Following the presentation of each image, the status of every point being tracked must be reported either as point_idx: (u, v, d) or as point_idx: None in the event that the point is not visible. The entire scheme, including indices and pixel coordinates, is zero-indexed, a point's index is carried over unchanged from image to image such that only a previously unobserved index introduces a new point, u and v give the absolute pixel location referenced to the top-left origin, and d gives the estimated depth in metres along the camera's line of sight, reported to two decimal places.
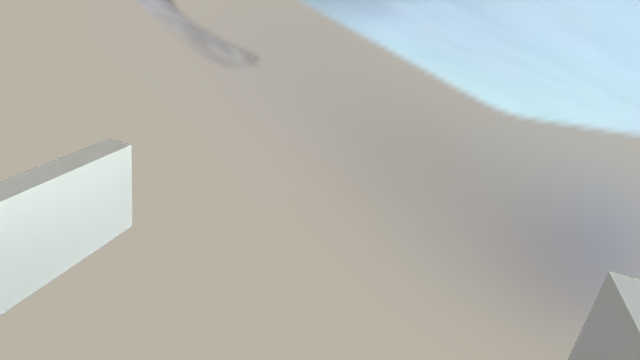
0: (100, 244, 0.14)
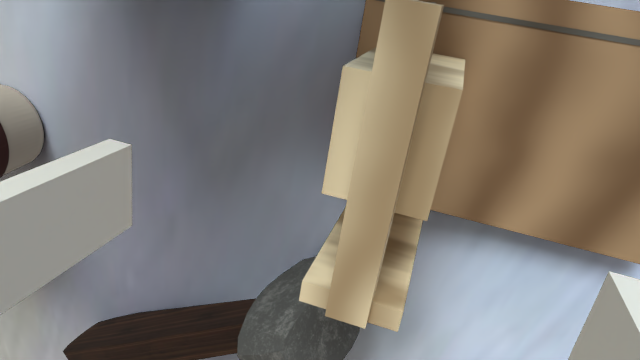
0: (100, 244, 0.14)
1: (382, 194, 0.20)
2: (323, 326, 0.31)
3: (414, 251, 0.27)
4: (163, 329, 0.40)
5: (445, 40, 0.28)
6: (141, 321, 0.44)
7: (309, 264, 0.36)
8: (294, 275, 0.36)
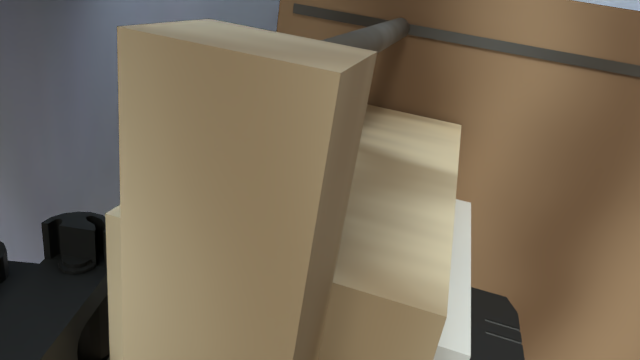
0: None
1: None
2: None
3: None
4: None
5: (424, 89, 0.15)
6: None
7: None
8: None
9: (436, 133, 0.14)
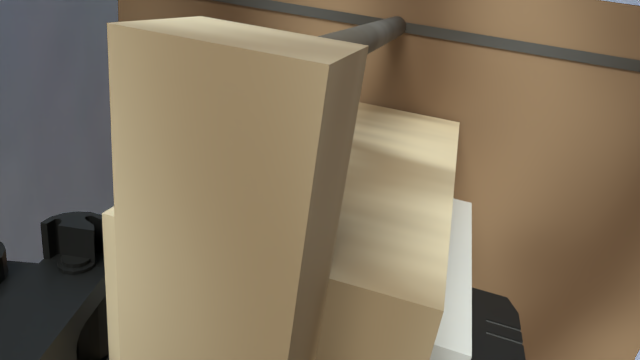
0: None
1: None
2: None
3: None
4: None
5: None
6: None
7: None
8: None
9: (434, 131, 0.14)
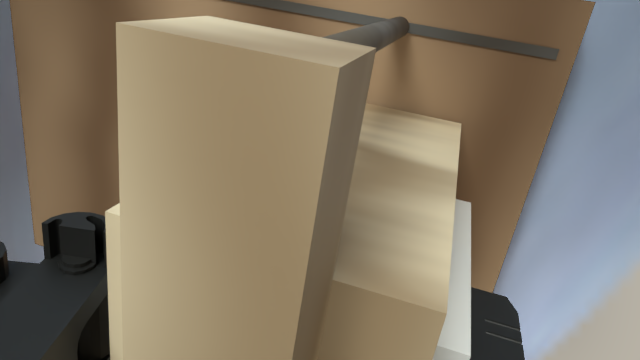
0: None
1: None
2: None
3: None
4: None
5: None
6: None
7: None
8: None
9: (436, 132, 0.14)
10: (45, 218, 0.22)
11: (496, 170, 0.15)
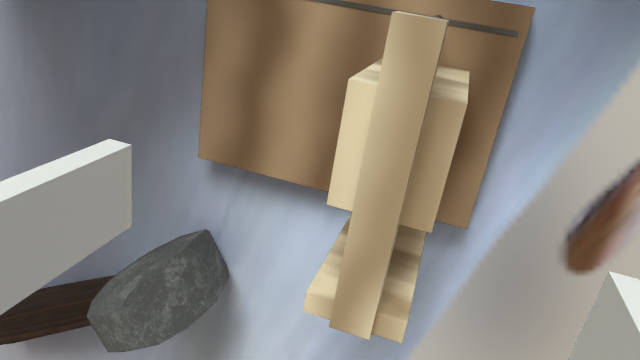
0: (100, 244, 0.14)
1: (387, 206, 0.20)
2: (170, 292, 0.34)
3: (418, 262, 0.27)
4: (51, 300, 0.42)
5: (278, 20, 0.31)
6: (40, 295, 0.46)
7: (179, 239, 0.39)
8: (162, 248, 0.38)
9: (457, 73, 0.27)
10: (208, 139, 0.35)
11: (487, 97, 0.29)
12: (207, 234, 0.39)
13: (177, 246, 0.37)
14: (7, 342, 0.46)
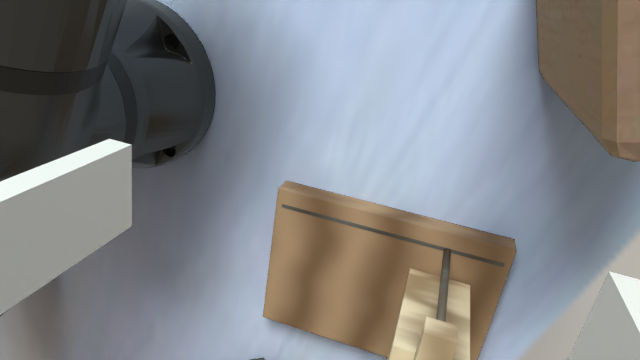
0: (100, 244, 0.14)
1: None
2: None
3: None
4: None
5: (329, 235, 0.42)
6: None
7: None
8: None
9: (461, 293, 0.38)
10: (271, 306, 0.46)
11: (483, 301, 0.40)
12: None
13: None
14: None
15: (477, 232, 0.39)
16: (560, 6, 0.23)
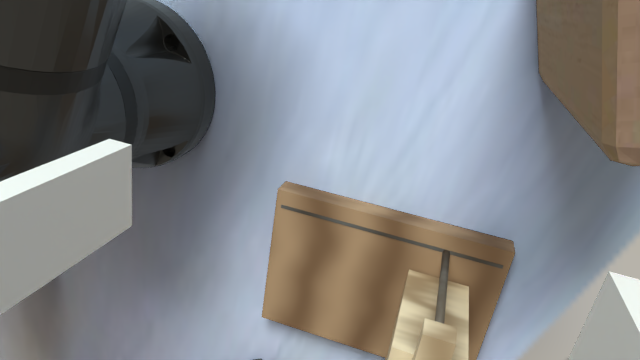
0: (100, 244, 0.14)
1: None
2: None
3: None
4: None
5: (328, 236, 0.42)
6: None
7: None
8: None
9: (460, 295, 0.38)
10: (270, 306, 0.46)
11: (481, 302, 0.40)
12: None
13: None
14: None
15: (476, 234, 0.39)
16: (560, 10, 0.24)
